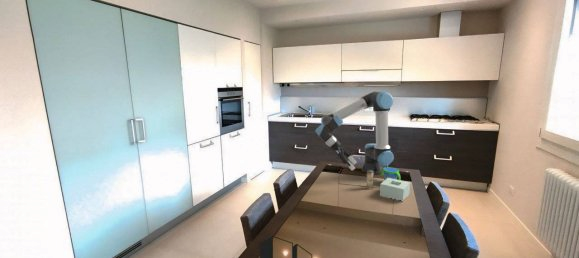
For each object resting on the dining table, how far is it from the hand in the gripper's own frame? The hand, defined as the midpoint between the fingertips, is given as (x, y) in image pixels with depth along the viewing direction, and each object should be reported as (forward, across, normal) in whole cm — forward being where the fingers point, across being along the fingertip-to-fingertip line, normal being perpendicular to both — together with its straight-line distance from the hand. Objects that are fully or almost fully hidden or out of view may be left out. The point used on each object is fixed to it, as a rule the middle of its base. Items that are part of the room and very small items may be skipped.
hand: (354, 166), depth 177 cm
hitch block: (+29, +6, +8) cm, 30 cm away
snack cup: (+27, -14, +7) cm, 32 cm away
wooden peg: (+18, 0, -3) cm, 18 cm away
